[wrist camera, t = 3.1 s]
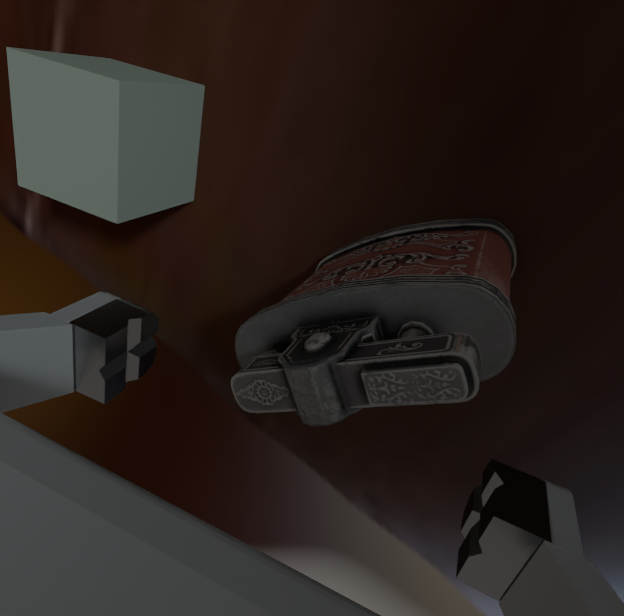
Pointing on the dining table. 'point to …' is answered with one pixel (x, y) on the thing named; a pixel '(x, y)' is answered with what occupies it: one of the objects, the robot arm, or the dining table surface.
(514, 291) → the dining table surface
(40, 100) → the sage block
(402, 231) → the lighter
